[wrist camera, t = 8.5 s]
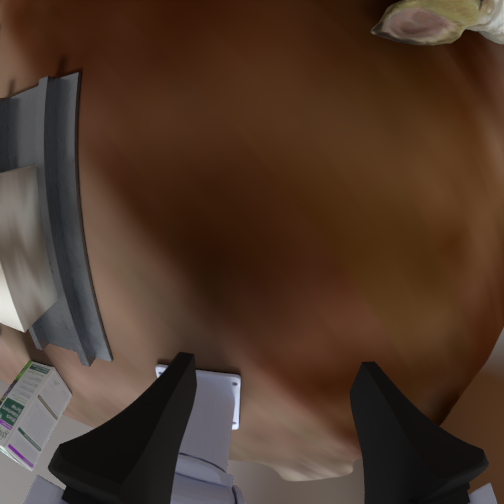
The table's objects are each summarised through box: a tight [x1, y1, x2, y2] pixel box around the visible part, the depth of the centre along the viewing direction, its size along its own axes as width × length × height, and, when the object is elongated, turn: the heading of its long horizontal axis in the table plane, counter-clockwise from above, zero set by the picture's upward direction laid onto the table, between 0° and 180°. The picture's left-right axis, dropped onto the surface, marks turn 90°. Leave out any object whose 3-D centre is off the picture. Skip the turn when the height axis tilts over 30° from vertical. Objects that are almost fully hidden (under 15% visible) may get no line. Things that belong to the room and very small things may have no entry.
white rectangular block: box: [0, 165, 58, 332], centre depth 16 cm, size 12×4×6 cm, turn 177°
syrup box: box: [0, 361, 72, 471], centre depth 21 cm, size 6×6×14 cm
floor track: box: [0, 72, 113, 367], centre depth 19 cm, size 26×12×2 cm, turn 177°
